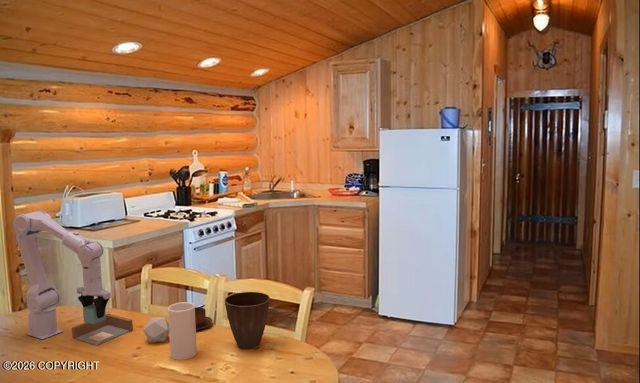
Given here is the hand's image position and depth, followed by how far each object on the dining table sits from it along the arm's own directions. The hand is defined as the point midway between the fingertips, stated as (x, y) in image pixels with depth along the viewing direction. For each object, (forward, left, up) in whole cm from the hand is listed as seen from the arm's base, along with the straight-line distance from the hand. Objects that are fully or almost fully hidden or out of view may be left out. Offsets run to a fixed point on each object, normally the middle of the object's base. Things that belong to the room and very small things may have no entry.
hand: (95, 316), depth 179 cm
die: (+20, +10, -9) cm, 24 cm away
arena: (-2, +4, -8) cm, 10 cm away
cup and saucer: (+22, +25, -9) cm, 35 cm away
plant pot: (+50, +22, -9) cm, 55 cm away
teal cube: (0, 0, -2) cm, 2 cm away
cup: (+36, +6, -9) cm, 37 cm away
